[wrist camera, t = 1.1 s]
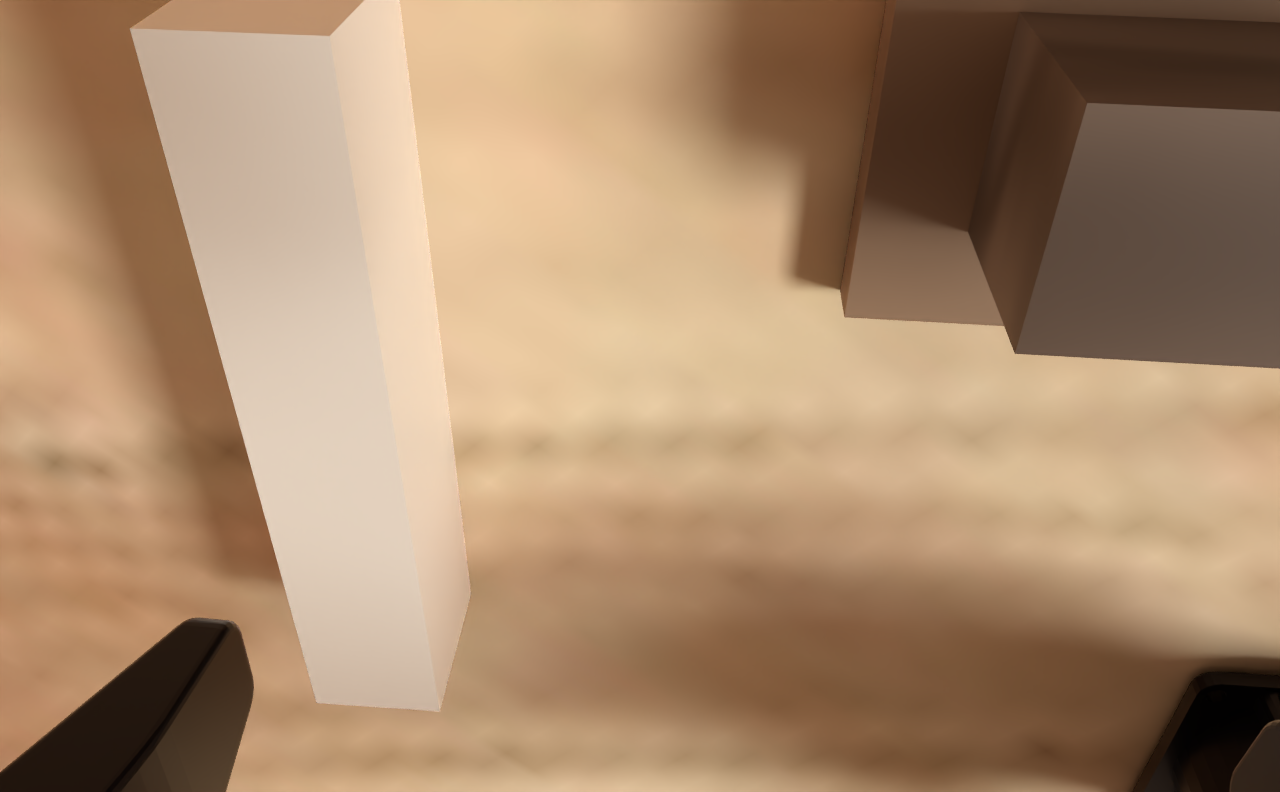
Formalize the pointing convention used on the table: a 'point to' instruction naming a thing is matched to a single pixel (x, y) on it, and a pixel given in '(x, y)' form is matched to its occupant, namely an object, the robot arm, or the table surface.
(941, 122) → the display stand
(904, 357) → the table surface
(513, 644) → the table surface
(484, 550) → the table surface
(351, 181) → the frame bar
